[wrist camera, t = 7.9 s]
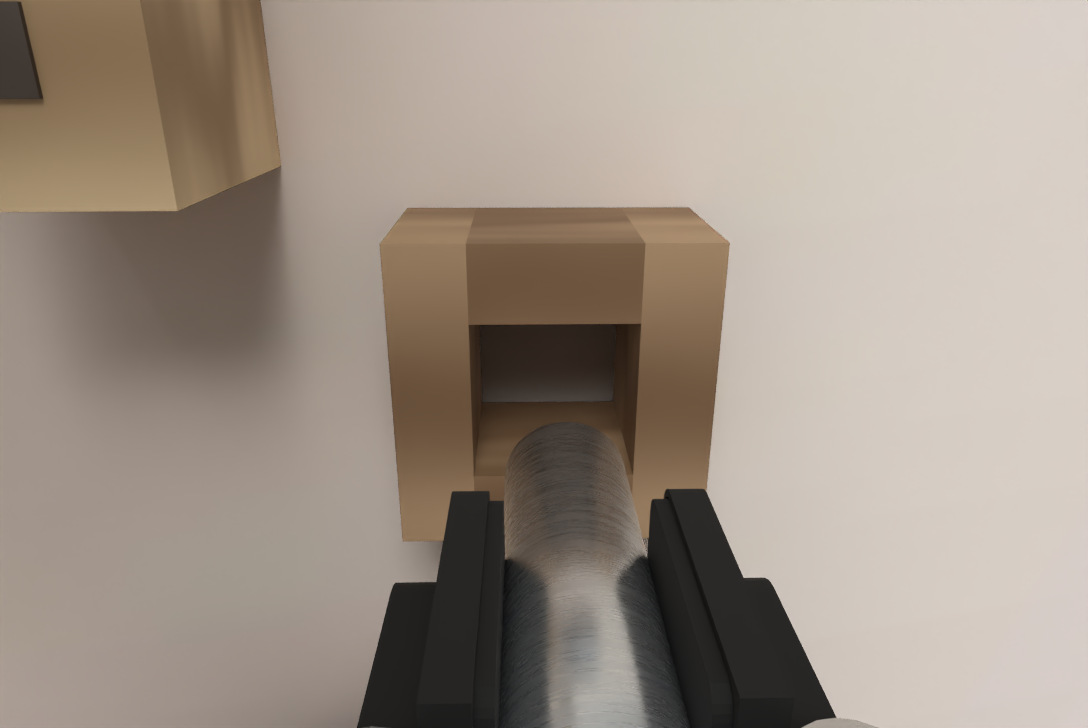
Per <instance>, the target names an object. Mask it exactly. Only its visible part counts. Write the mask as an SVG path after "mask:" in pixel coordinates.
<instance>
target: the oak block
mask: <svg viewBox="0 0 1088 728" xmlns="http://www.w3.org/2000/svg"><path fill="white" fill-rule="evenodd" d="M280 166H281V162H280V154H279V146H278V138H277V130H276V122H275V114H274V106H273V98H272V90H271V82H270V74H269V66H268V58H267V50H266V42H265V34H264V26H263V18H262V10H261V2H260V0H0V212H95V211H179V210H181V209H183V208H186V207H188V206H190V205H193V204H195V203H197V202H199V201H202V200H204V199H206V198H209V197H211V196H213V195H216V194H218V193H220V192H222V191H225V190H227V189H229V188H232V187H234V186H236V185H239V184H241V183H243V182H245V181H248V180H250V179H252V178H255V177H257V176H259V175H262V174H264V173H266V172H269V171H271V170H273V169H275V168H278V167H280Z"/></svg>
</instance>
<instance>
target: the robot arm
mask: <svg viewBox="0 0 1088 728" xmlns="http://www.w3.org/2000/svg"><path fill="white" fill-rule="evenodd" d="M647 559H648V563H649V567H650V571H651V575H652V579H653V583H654V587H655V591H656V595H657V599H658V602H659V606H660V610H661V614H662V618H663V622H664V626H665V630H666V634H667V638H668V642H669V646H670V650H671V654H672V658H673V662H674V666H675V670H676V674H677V678H678V682H679V686H680V689H681V693H682V697H683V701H684V705H685V709H686V713H687V717H688V721H689V725H690V728H878V727H875V726H872V725H869V724H866V723H863V722H860V721H857V720H850V719H841V718H836V716H835V714H834V712H833V710H832V708H831V705H830V703H829V701H828V699H827V697H826V695H825V693H824V691H823V689H822V687H821V685H820V683H819V680H818V678H817V676H816V674H815V672H814V670H813V668H812V666H811V664H810V662H809V660H808V658H807V656H806V653H805V651H804V649H803V647H802V645H801V643H800V641H799V639H798V637H797V635H796V633H795V631H794V629H793V626H792V624H791V622H790V620H789V618H788V616H787V614H786V612H785V610H784V608H783V606H782V604H781V601H780V599H779V597H778V595H777V593H776V591H775V589H774V587H773V586H772V584H771V582H770V581H769V580H768V579H766V578H743V576H742V574H741V571H740V569H739V567H738V564H737V562H736V560H735V557H734V555H733V553H732V550H731V548H730V546H729V543H728V541H727V539H726V536H725V534H724V532H723V529H722V527H721V525H720V523H719V520H718V518H717V516H716V513H715V511H714V509H713V506H712V504H711V502H710V499H709V497H708V495H707V492H706V491H705V489H666V490H665V493H664V499H652V501H651V508H650V522H649V538H648V554H647ZM504 576H505V530H504V501H490V493H489V491H452V493H451V499H450V505H449V510H448V516H447V522H446V528H445V534H444V540H443V546H442V552H441V558H440V564H439V570H438V576H437V582H419V583H395V584H394V585H393V588H392V591H391V594H390V598H389V602H388V606H387V610H386V614H385V618H384V622H383V626H382V630H381V634H380V638H379V642H378V646H377V650H376V654H375V658H374V662H373V666H372V670H371V674H370V678H369V682H368V686H367V690H366V694H365V698H364V702H363V706H362V710H361V714H360V718H359V722H358V726H357V728H499V713H500V686H501V658H502V631H503V603H504Z"/></svg>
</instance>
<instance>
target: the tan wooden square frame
mask: <svg viewBox="0 0 1088 728" xmlns="http://www.w3.org/2000/svg"><path fill="white" fill-rule="evenodd" d="M729 245H730V243H729V242H728V241H727V240H726V239H724V238H723V237H722V236H721V235H720V234H719V233H718V232H716V231H715V230H714V229H713V228H712V227H711V226H709V225H708V224H707V223H706V222H705V221H704V220H703V219H701V218H700V217H699V216H698V215H697V214H696V213H694V212H693V211H692V210H691V209H690V208H407V209H406V211H405V212H404V213H403V215H402V216H401V217H400V219H399V220H398V221H397V222H396V224H395V225H394V226H393V228H392V229H391V230H390V232H389V233H388V234H387V235H386V237H385V238H384V239H383V241H382V242H381V243H380V254H381V267H382V279H383V292H384V305H385V318H386V331H387V344H388V357H389V370H390V383H391V396H392V409H393V422H394V434H395V447H396V460H397V473H398V486H399V499H400V512H401V525H402V538H403V541H443V540H444V534H445V528H446V522H447V516H448V510H449V505H450V499H451V493H452V491H489V493H490V501H504V491H505V471H506V465H507V461H508V458H509V456H510V454H511V452H512V450H513V449H514V447H515V446H516V445H517V443H518V442H519V441H520V440H521V439H522V438H523V437H525V436H526V435H527V434H528V433H530V432H532V431H533V430H535V429H537V428H539V427H541V426H544V425H547V424H551V423H556V422H576V423H582V424H585V425H589V426H591V427H593V428H596V429H597V430H599V431H601V432H602V433H604V434H605V435H606V436H607V437H609V438H610V439H611V440H612V442H613V443H614V444H615V445H616V447H617V448H618V450H619V452H620V454H621V456H622V459H623V462H624V466H625V470H626V474H627V478H628V482H629V486H630V490H631V494H632V498H633V502H634V506H635V510H636V514H637V518H638V521H639V525H640V529H641V533H642V537H643V538H649V522H650V508H651V501H652V499H664V493H665V490H666V489H705V491H706V488H707V478H708V467H709V457H710V446H711V436H712V425H713V414H714V404H715V393H716V383H717V372H718V362H719V351H720V340H721V330H722V319H723V309H724V298H725V288H726V277H727V266H728V256H729ZM516 324H616V344H615V369H614V394H613V401H598V402H487V403H482V382H481V348H480V325H516Z"/></svg>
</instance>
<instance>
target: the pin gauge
mask: <svg viewBox="0 0 1088 728" xmlns="http://www.w3.org/2000/svg"><path fill="white" fill-rule="evenodd" d="M504 530H505V576H504V603H503V631H502V658H501V686H500V713H499V728H690V725H689V721H688V717H687V713H686V709H685V705H684V701H683V697H682V693H681V689H680V686H679V682H678V678H677V674H676V670H675V666H674V662H673V658H672V654H671V650H670V646H669V642H668V638H667V634H666V630H665V626H664V622H663V618H662V614H661V610H660V606H659V602H658V599H657V595H656V591H655V587H654V583H653V579H652V575H651V571H650V567H649V563H648V559H647V553H646V549H645V545H644V541H643V537H642V533H641V529H640V525H639V521H638V518H637V514H636V510H635V506H634V502H633V498H632V494H631V490H630V486H629V482H628V478H627V474H626V470H625V466H624V462H623V459H622V456H621V454H620V452H619V450H618V448H617V447H616V445H615V444H614V443H613V442H612V440H611V439H610V438H609V437H607V436H606V435H605V434H604V433H602V432H601V431H599V430H597V429H596V428H593V427H591V426H589V425H585V424H582V423H576V422H556V423H551V424H547V425H544V426H541V427H539V428H537V429H535V430H533V431H532V432H530V433H528V434H527V435H526V436H525V437H523V438H522V439H521V440H520V441H519V442H518V443H517V445H516V446H515V447H514V449H513V450H512V452H511V454H510V456H509V458H508V461H507V465H506V471H505V491H504Z"/></svg>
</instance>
